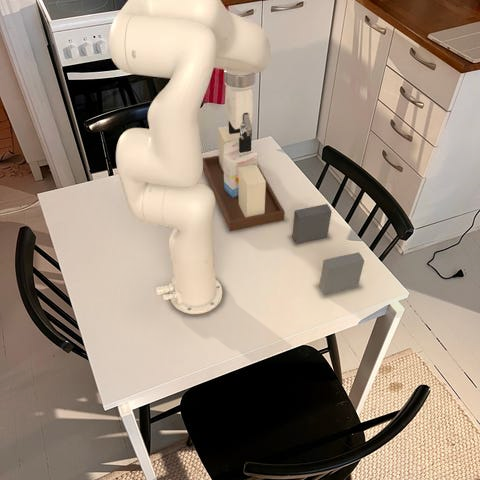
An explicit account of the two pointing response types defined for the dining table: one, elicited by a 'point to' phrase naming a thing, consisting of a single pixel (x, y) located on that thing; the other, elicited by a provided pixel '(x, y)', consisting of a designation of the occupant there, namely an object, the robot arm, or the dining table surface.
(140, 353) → the dining table surface
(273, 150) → the dining table surface
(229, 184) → the ink box
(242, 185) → the white books
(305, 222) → the gray bookends
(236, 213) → the book tray
